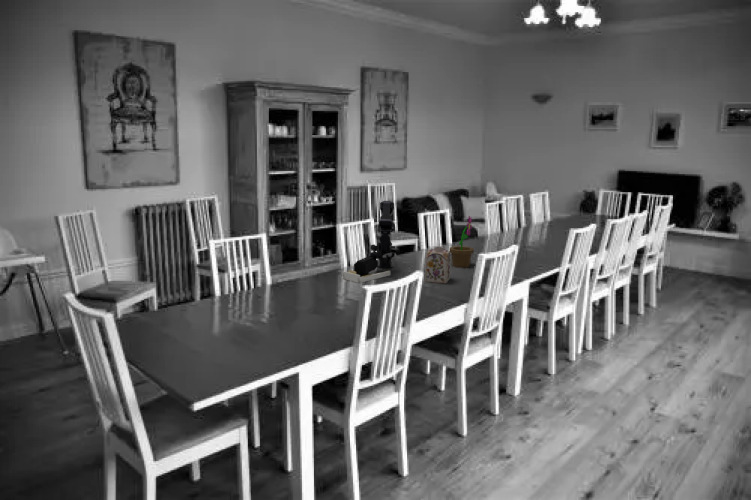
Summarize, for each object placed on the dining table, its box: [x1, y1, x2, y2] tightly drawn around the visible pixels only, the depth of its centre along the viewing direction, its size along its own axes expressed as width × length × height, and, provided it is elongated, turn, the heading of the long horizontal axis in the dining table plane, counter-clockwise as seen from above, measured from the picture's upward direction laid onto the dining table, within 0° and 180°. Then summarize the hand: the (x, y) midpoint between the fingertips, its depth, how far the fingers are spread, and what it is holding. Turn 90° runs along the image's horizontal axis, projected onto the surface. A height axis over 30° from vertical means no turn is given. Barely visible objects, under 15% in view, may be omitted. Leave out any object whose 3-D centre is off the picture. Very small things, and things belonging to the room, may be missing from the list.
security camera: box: [353, 255, 379, 277], centre depth 310 cm, size 7×18×10 cm, turn 154°
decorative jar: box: [424, 245, 452, 284], centre depth 307 cm, size 12×12×18 cm
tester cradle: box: [342, 268, 391, 284], centre depth 312 cm, size 24×12×5 cm, turn 136°
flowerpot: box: [449, 215, 475, 269], centre depth 340 cm, size 14×14×30 cm
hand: (384, 268), depth 322 cm, fingers closed
